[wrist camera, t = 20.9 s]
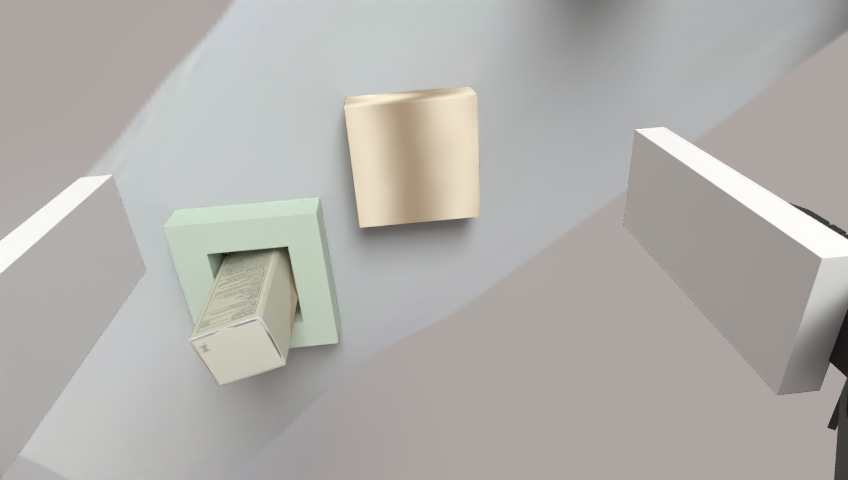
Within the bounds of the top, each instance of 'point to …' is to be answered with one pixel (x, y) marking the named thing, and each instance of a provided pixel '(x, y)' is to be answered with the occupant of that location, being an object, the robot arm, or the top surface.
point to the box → (247, 315)
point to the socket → (259, 229)
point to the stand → (414, 155)
